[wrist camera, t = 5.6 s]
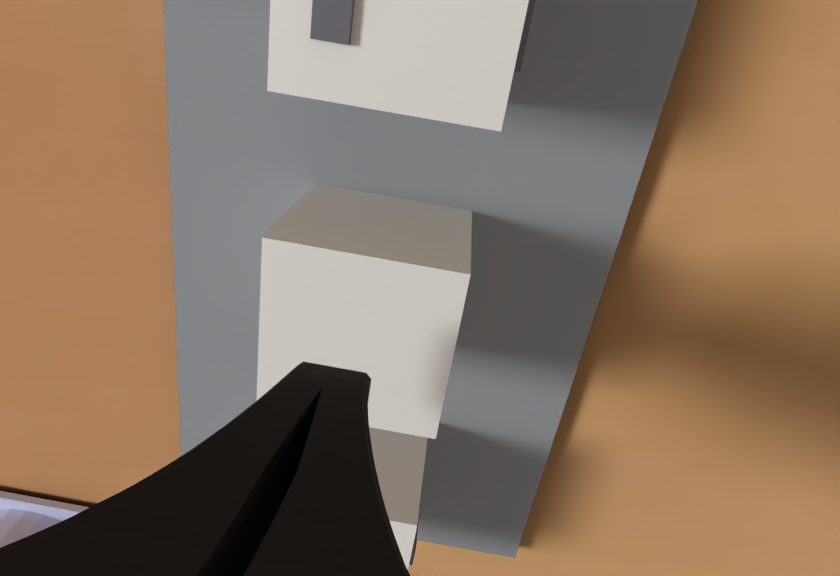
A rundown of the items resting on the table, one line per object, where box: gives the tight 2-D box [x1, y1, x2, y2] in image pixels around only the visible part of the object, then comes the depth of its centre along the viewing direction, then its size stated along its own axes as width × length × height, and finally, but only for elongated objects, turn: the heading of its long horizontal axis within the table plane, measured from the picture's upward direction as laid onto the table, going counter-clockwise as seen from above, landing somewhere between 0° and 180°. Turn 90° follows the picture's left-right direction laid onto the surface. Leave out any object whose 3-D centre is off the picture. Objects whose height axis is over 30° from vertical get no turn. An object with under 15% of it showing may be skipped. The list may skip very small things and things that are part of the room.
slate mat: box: [163, 0, 698, 558], centre depth 17 cm, size 22×13×1 cm, turn 171°
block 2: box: [369, 427, 427, 570], centre depth 18 cm, size 4×5×5 cm
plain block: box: [256, 183, 472, 439], centre depth 15 cm, size 4×4×4 cm
